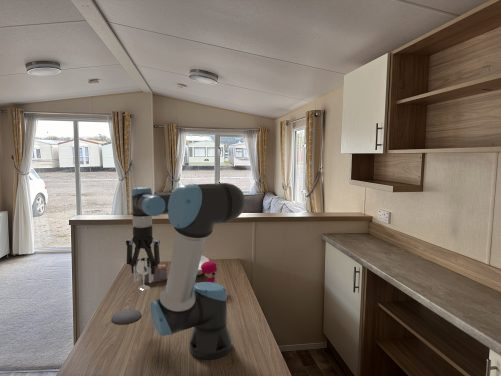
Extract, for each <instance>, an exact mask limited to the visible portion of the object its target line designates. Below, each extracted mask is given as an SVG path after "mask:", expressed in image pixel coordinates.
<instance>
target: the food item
mask: <svg viewBox="0 0 501 376" xmlns="http://www.w3.org/2000/svg"><path fill="white" fill-rule="evenodd" d="M142 276H143V275H141V283H142V284H143V278H142ZM144 276H145V279H144V284H146V283H148V284H150V283H149V273H148V274H146V275H144ZM166 280H168V267H167V266H166V264H158V265H157V266H155V274H153V281H152V282H151V283H153V284H154V283H157V282H163V281H166Z"/></svg>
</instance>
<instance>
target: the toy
mask: <svg viewBox="0 0 501 376" xmlns="http://www.w3.org/2000/svg"><path fill="white" fill-rule="evenodd" d="M201 269H202V274H204V276H205V277H206V278H207V280H206V282H212V283H215V281H216V278H215V276H216V275H217V271H218V267H217V263H216V262H214V261H210V260H209V261H208V262H205V263H203V264H202V265H201Z"/></svg>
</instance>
